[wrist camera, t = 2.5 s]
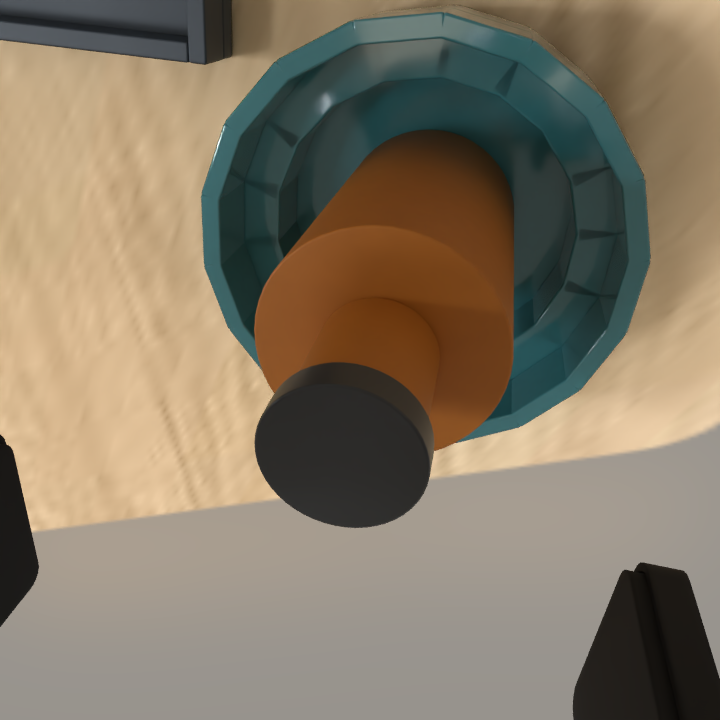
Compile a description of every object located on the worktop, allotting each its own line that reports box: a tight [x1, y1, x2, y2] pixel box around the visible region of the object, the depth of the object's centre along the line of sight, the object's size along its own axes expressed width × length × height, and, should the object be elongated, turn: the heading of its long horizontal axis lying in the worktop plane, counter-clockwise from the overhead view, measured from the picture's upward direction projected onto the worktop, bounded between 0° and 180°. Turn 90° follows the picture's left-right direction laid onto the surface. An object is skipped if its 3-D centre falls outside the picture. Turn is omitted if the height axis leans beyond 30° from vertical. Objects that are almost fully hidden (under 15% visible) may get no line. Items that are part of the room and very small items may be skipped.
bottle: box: [254, 130, 514, 528], centre depth 18 cm, size 6×6×14 cm
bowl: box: [201, 5, 651, 443], centre depth 22 cm, size 13×13×5 cm
